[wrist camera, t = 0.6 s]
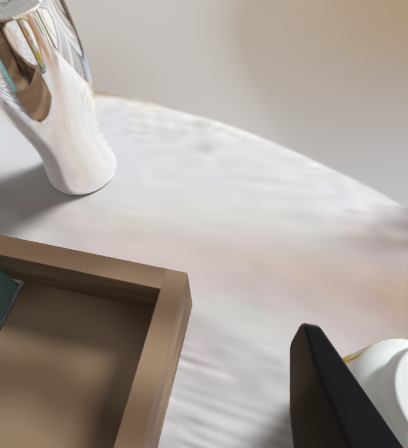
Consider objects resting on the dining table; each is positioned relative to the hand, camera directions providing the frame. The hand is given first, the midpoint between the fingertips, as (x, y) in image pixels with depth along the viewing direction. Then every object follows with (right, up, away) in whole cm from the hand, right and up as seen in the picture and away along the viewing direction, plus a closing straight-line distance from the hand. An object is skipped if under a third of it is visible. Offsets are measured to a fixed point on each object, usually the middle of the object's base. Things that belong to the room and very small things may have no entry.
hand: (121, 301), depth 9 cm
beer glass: (-9, +7, +23) cm, 25 cm away
